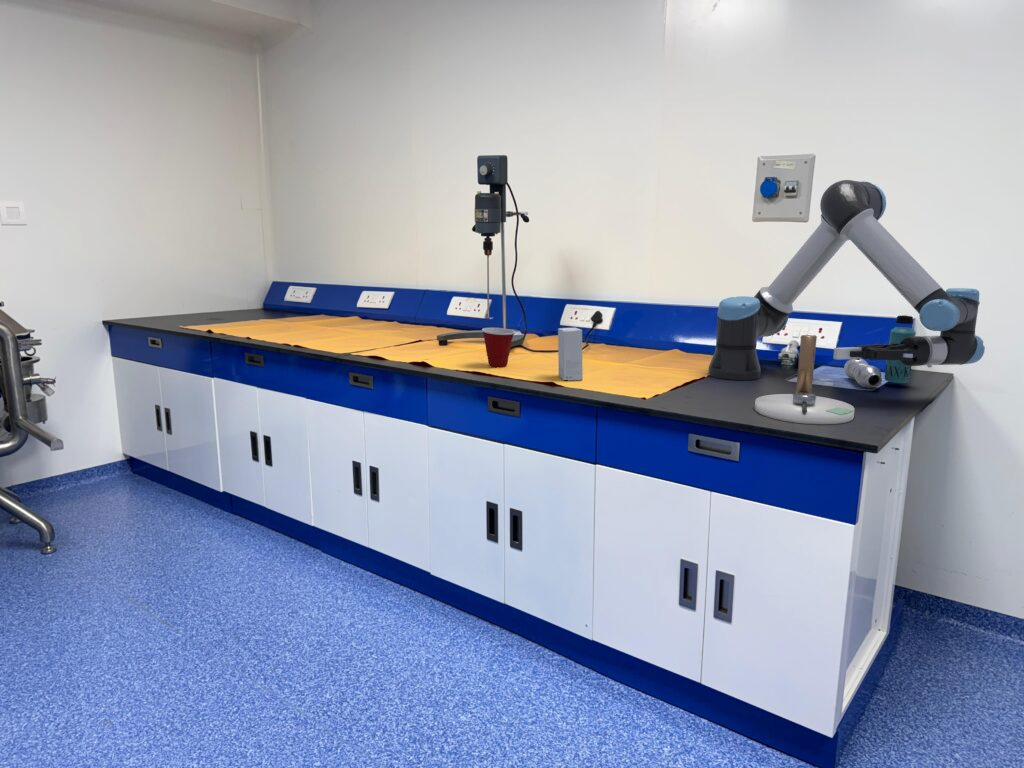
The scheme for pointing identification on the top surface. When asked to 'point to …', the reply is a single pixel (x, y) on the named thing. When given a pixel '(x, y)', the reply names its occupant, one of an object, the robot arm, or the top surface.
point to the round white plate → (816, 414)
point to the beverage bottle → (895, 367)
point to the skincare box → (570, 353)
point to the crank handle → (805, 372)
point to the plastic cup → (498, 345)
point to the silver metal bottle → (863, 373)
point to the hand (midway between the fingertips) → (835, 353)
